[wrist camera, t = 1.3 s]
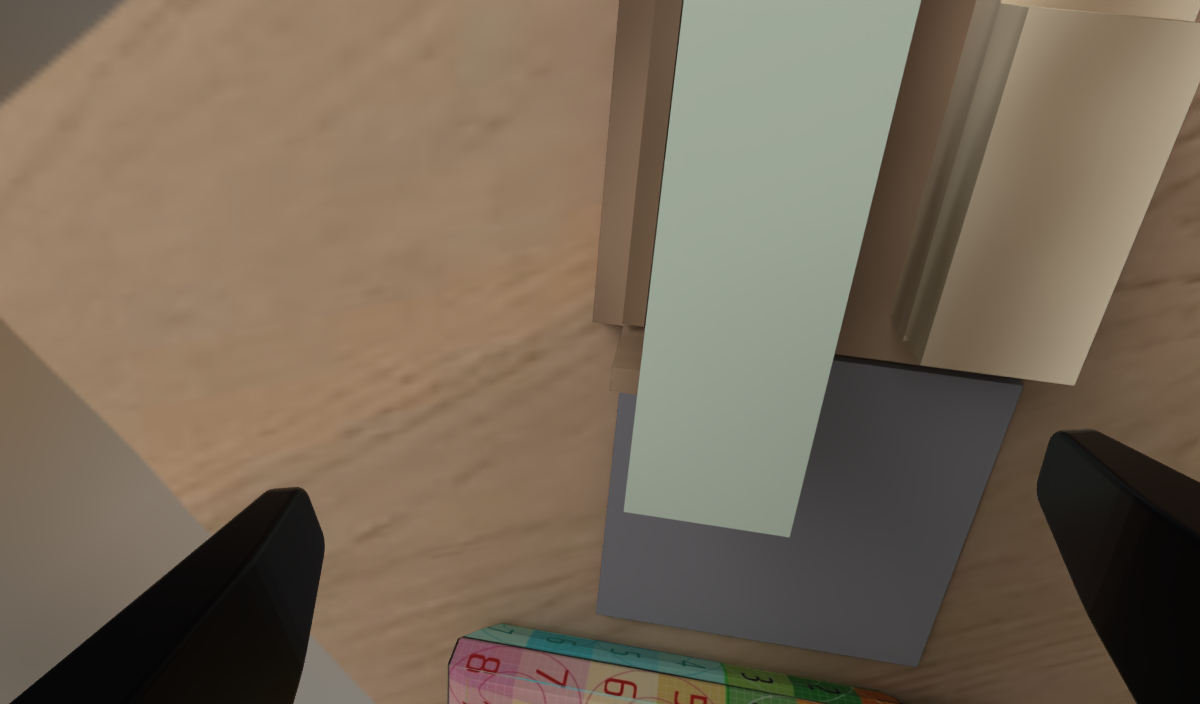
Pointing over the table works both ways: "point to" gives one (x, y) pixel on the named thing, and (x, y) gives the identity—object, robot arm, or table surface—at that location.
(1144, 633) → the robot arm
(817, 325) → the board
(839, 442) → the mat
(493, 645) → the puzzle game
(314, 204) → the table surface
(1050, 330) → the offcut stack
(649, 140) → the rack
